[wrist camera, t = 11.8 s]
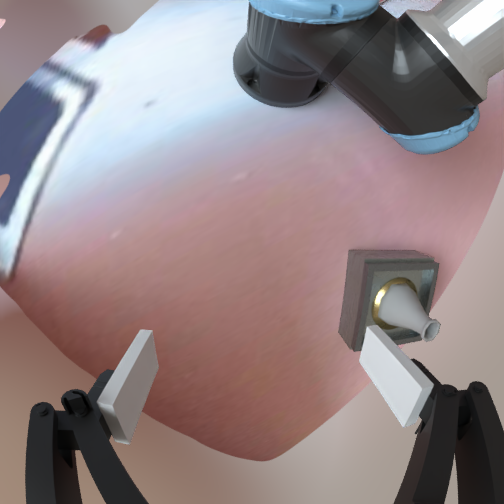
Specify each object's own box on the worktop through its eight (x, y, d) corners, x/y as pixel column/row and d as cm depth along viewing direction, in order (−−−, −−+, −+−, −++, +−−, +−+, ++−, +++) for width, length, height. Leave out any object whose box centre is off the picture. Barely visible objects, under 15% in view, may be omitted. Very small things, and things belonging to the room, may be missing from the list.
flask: (419, 287, 38) (457, 310, 28) (401, 327, 39) (434, 356, 29) (388, 276, 37) (427, 300, 27) (370, 319, 38) (401, 352, 28)
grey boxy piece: (348, 249, 42) (369, 261, 35) (414, 250, 43) (439, 260, 36) (338, 332, 45) (353, 354, 38) (401, 324, 46) (421, 342, 39)
